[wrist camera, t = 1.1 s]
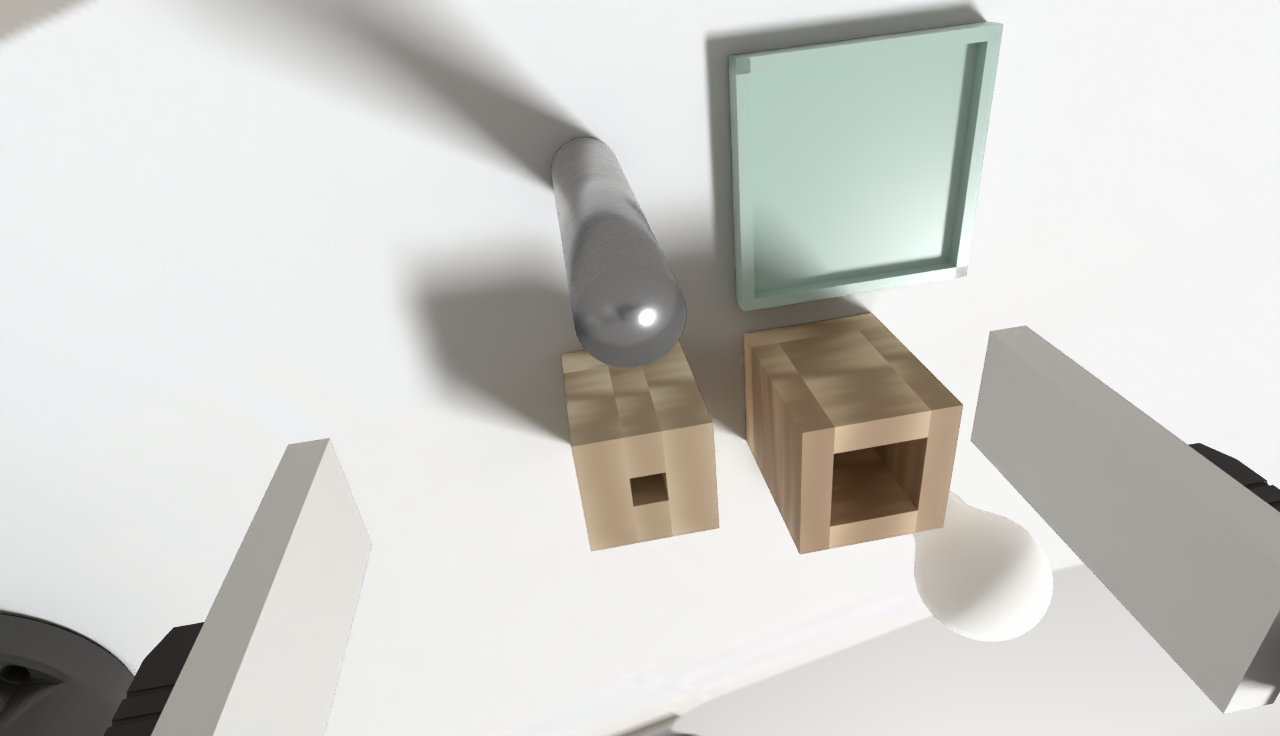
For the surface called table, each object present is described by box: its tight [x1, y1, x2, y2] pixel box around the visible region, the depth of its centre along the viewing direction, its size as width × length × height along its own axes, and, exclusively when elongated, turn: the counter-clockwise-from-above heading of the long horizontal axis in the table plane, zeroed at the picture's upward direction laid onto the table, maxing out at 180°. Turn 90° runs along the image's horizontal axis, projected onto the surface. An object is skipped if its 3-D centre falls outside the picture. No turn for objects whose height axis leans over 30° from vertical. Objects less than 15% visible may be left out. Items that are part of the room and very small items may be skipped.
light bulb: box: [913, 491, 1053, 641], centre depth 40 cm, size 7×7×11 cm
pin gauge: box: [551, 137, 686, 368], centre depth 25 cm, size 3×3×15 cm
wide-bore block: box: [743, 313, 963, 554], centre depth 35 cm, size 7×7×9 cm
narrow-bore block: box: [561, 340, 719, 551], centre depth 34 cm, size 6×6×8 cm
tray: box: [728, 22, 1003, 312], centre depth 33 cm, size 12×12×1 cm
